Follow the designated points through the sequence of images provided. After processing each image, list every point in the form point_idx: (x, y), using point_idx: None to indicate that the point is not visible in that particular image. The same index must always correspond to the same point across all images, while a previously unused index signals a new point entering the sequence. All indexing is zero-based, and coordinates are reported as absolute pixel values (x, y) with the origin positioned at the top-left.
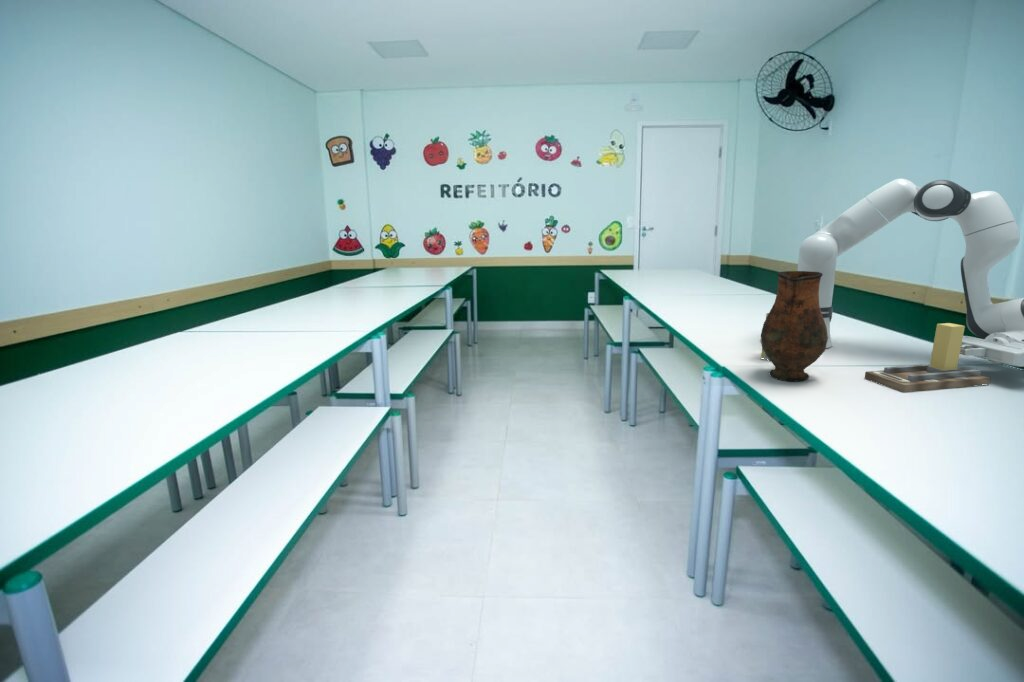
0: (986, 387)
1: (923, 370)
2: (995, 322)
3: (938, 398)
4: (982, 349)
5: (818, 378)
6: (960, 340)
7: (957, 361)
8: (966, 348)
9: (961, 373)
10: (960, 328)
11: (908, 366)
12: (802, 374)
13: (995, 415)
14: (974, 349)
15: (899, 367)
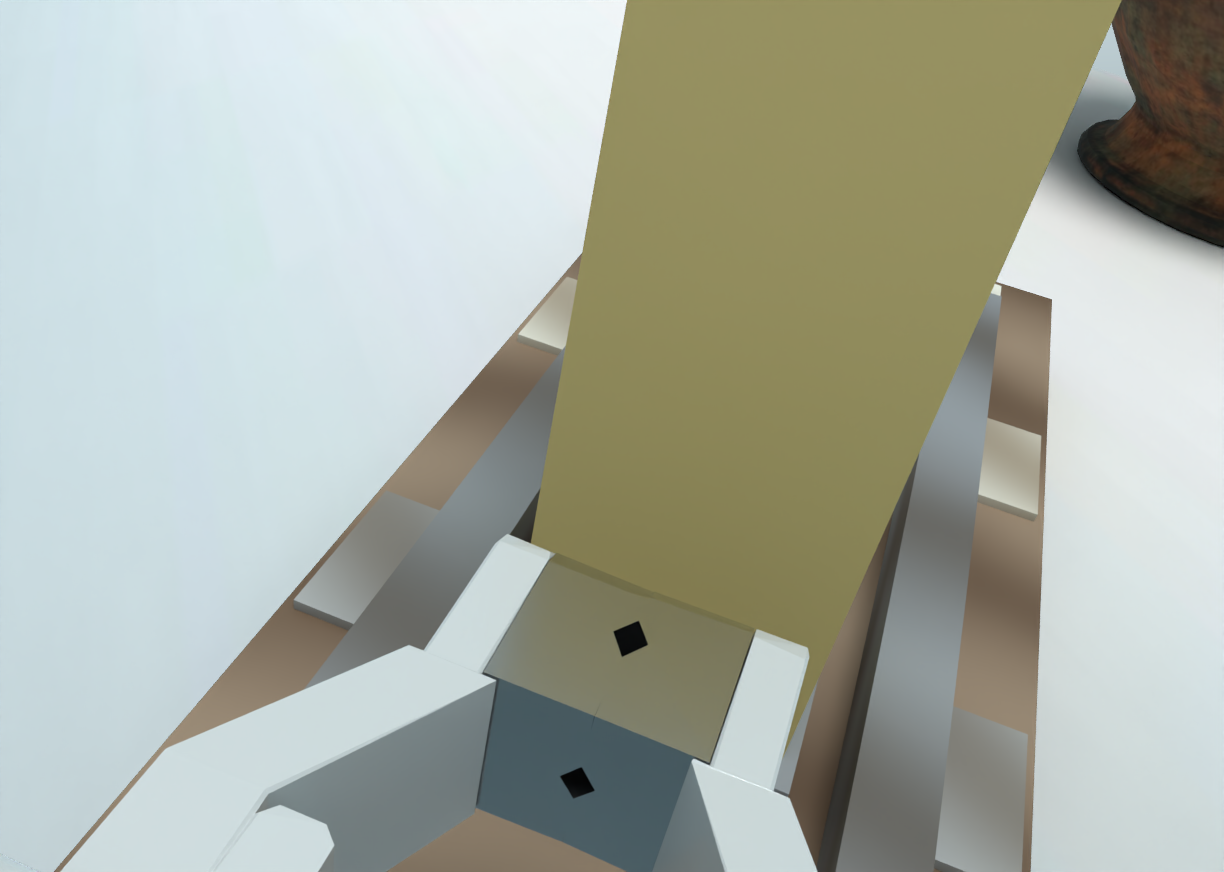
0: (41, 849)
1: (870, 634)
2: None
3: (411, 235)
4: (158, 761)
5: (1114, 229)
6: (627, 88)
7: (538, 529)
8: (565, 607)
9: (403, 574)
10: None
11: (945, 436)
12: (1128, 143)
13: (21, 135)
14: (375, 662)
15: None
